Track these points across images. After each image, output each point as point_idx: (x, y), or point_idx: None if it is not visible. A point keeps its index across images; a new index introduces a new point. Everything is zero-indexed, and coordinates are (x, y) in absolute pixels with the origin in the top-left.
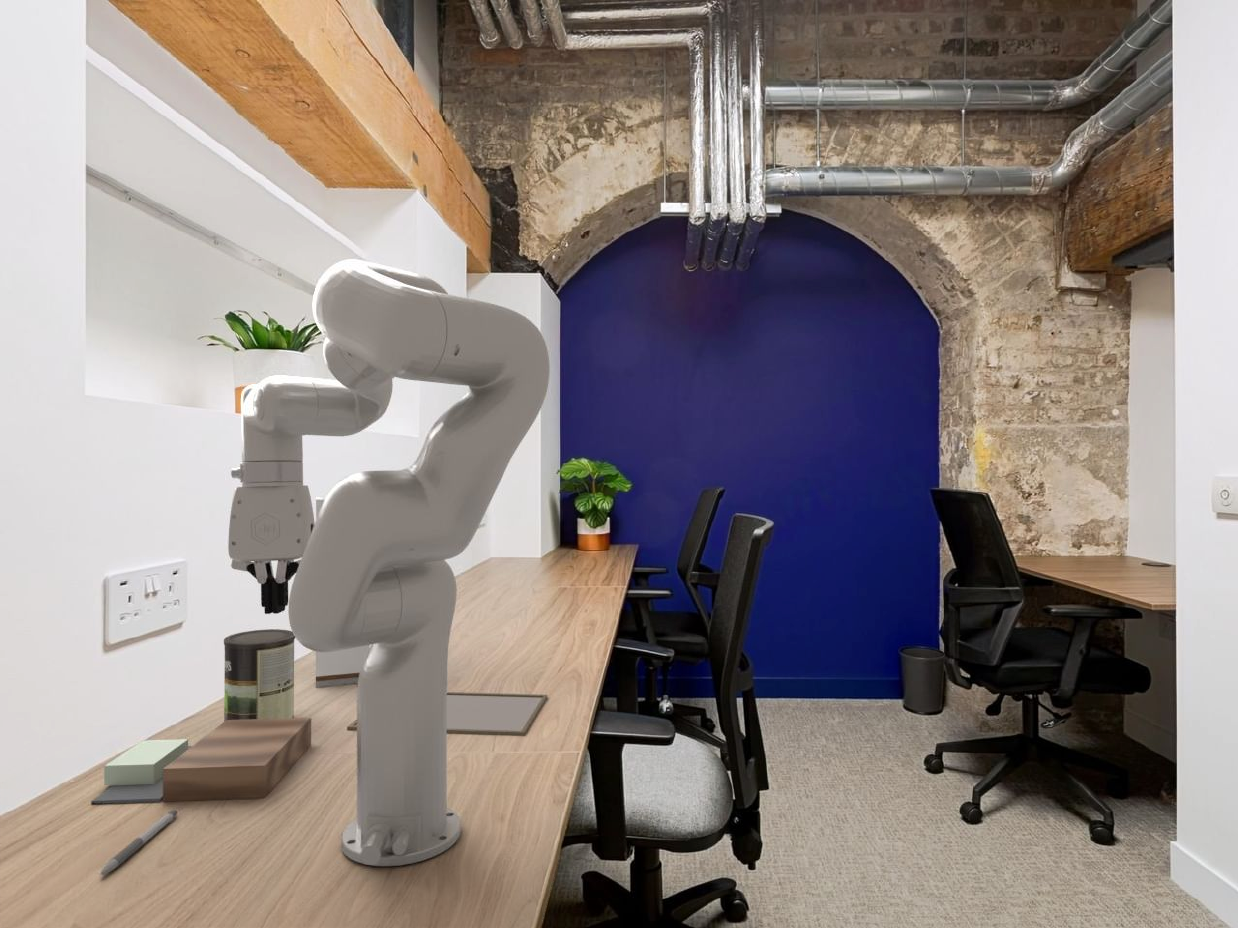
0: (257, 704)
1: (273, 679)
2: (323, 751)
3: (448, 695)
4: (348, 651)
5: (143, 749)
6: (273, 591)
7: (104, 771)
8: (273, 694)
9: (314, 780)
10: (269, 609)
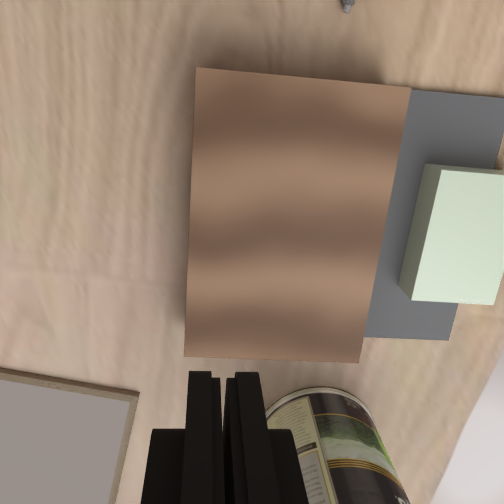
0: (316, 428)
1: None
2: (153, 291)
3: None
4: None
5: (480, 255)
6: (204, 467)
7: None
8: None
9: (125, 144)
10: (232, 384)
